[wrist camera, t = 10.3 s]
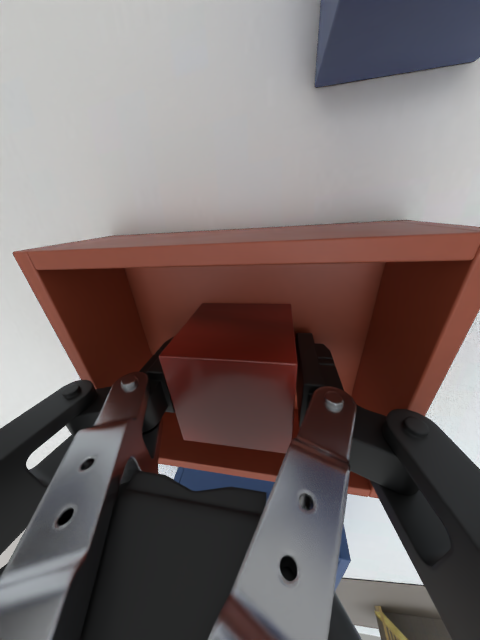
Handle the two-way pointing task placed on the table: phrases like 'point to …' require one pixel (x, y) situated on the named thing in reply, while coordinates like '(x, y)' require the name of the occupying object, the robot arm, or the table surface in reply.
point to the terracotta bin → (271, 288)
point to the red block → (234, 375)
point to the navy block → (393, 37)
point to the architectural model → (392, 609)
